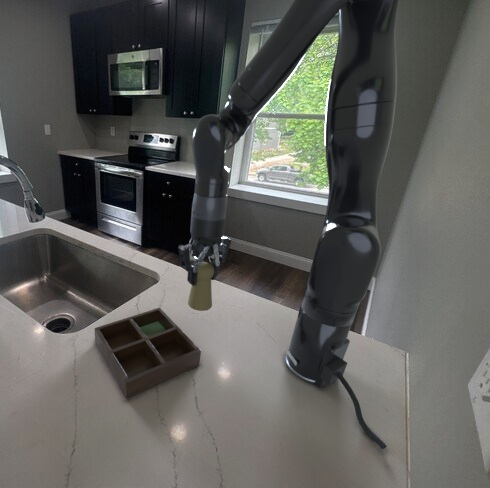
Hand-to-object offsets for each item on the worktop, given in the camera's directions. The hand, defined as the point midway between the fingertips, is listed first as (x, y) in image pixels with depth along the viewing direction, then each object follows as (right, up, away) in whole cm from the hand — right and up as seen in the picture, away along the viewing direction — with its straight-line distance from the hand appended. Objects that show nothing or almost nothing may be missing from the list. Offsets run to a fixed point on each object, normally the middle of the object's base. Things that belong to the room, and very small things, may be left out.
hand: (202, 281), depth 72 cm
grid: (-13, -15, -7) cm, 21 cm away
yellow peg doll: (0, -6, +3) cm, 7 cm away
